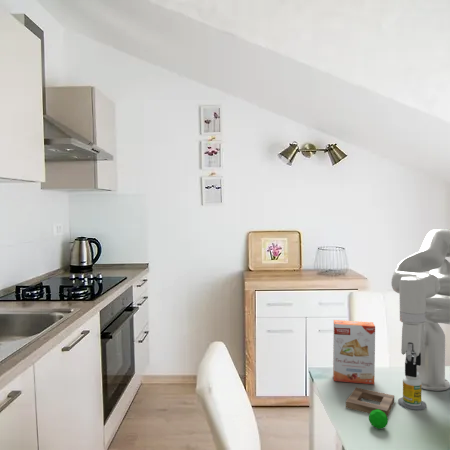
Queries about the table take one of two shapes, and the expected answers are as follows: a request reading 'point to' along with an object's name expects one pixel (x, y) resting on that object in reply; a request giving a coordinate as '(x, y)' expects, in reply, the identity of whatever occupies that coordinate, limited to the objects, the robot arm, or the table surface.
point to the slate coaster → (421, 407)
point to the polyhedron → (378, 419)
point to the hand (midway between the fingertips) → (413, 370)
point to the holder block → (358, 394)
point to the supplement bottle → (412, 390)
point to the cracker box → (354, 352)
